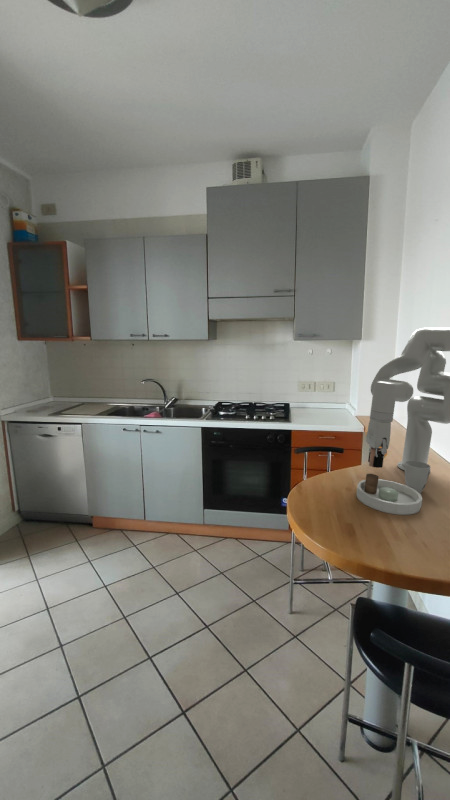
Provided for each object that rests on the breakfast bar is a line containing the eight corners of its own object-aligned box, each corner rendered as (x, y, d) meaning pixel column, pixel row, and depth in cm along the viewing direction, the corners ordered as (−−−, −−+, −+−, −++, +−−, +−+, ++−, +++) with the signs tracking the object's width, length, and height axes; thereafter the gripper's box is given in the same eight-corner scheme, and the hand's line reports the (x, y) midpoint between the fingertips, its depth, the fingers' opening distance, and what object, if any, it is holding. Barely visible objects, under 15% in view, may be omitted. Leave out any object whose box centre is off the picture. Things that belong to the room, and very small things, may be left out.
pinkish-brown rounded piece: (367, 463, 133) (369, 448, 132) (378, 464, 133) (380, 448, 132) (371, 467, 129) (373, 451, 128) (382, 468, 129) (384, 452, 128)
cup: (429, 496, 128) (434, 469, 126) (405, 493, 129) (409, 466, 127) (422, 487, 135) (426, 461, 134) (399, 484, 137) (402, 459, 135)
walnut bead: (367, 488, 129) (369, 472, 128) (378, 492, 126) (380, 476, 125) (362, 491, 126) (364, 475, 125) (373, 495, 124) (375, 478, 123)
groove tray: (371, 483, 136) (372, 474, 136) (428, 502, 122) (430, 492, 122) (346, 498, 123) (347, 488, 122) (407, 521, 109) (409, 510, 108)
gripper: (362, 410, 136) (357, 456, 139) (379, 420, 120) (373, 472, 123) (382, 411, 136) (376, 458, 139) (402, 422, 119) (395, 474, 123)
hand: (375, 464), depth 131 cm, fingers closed on pinkish-brown rounded piece, 4 cm apart
